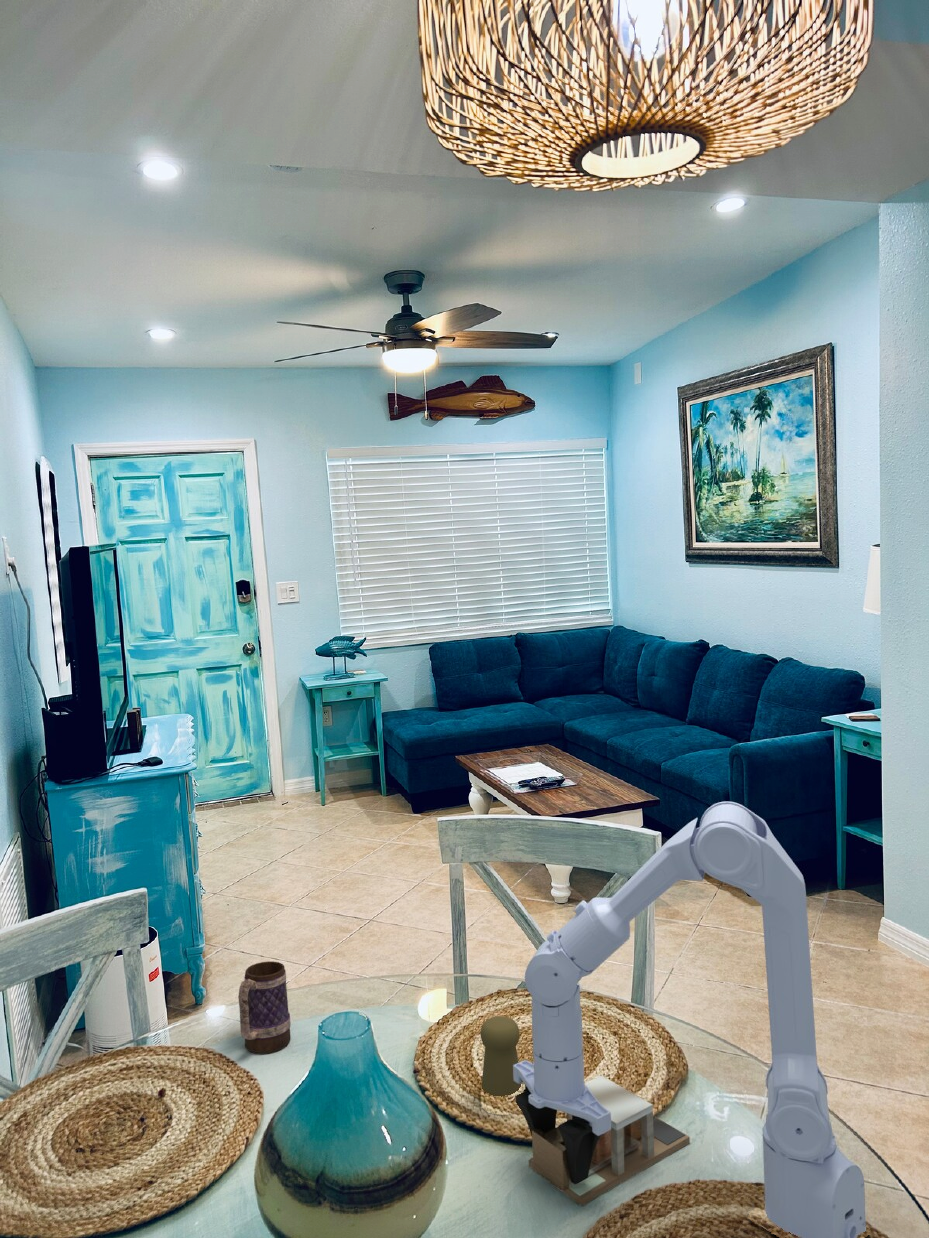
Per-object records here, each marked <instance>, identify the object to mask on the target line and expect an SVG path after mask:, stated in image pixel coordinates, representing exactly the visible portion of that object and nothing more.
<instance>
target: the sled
mask: <svg viewBox="0 0 929 1238" xmlns="http://www.w3.org/2000/svg"><path fill="white" fill-rule="evenodd" d="M630 1092H631V1093H633V1094H635V1093H634V1092H632V1091H630ZM637 1096H638V1097H640V1098H642V1097H641V1096H639V1095H637ZM569 1116H570V1119H571V1120H572V1115H571V1114H569ZM639 1138H641V1118H639V1119H638V1120H636V1121H634V1122H632V1123H630V1124H628V1125H626V1126H624V1127H623V1143H624V1155H626V1154H628V1153H629V1152H631V1151H633V1150H635V1149H637V1148H638V1147H640V1142H639V1141H638V1140H637V1139H639ZM531 1139H532V1141H531V1142H532V1143H531V1144H532V1148H531V1149H532V1157H533V1168H534V1169H535V1170H537V1171H538V1172H539V1173H541V1174H542V1175H543V1176H545V1177H546V1178H547V1179H549V1180H550V1181H551V1182H553V1183H554V1184H555V1185H557V1186H558V1187H559V1188H561V1189H562V1190H563V1191H564V1190H566V1189H568V1188H569V1177H570V1176H569V1170H568V1159H567V1152H566V1148H565V1144H564V1141H563V1138H562V1136H561V1134H560V1132H559V1130H558V1126H557V1127H556V1128H554V1129H552V1130H550V1131H548V1132H546V1133H544V1132H543V1131H541V1130H540V1129H538V1128H535V1129H533V1130H532V1136H531ZM610 1163H612V1156H611V1130H609V1131H607V1132H605V1133H604V1134H601V1135H600V1137H599V1139H598V1142H597V1144H596V1147H595V1150H594V1153H593V1156H592V1160H591V1165H590V1169H589V1174H588V1175H590V1174H592V1173H594V1172H595V1171H597V1170H599V1169H601V1168H603V1167H604V1166H606V1165H608V1164H610Z"/></svg>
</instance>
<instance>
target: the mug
mask: <svg viewBox="0 0 929 1238" xmlns="http://www.w3.org/2000/svg"><path fill="white" fill-rule="evenodd" d="M287 988H288V987H287V972H286V969H285V965H284V963H282V962H279V961H270V960H269V961H260V962H258V963H255V964H252V965H250V966H248V967H247V968H246V969H245V972H244V979H243V981H241V983H240V985H239V989H238V990H239V991H238V1006H239V1022H240V1024H239V1025H240V1035H241V1038H242V1039H244V1047H245V1048H246V1050H248V1051H249V1052H251V1053H253V1054H259V1055H264V1054H265V1055H266V1054H271V1053H275V1052H279V1051H281V1050H283V1049H284V1048H286V1046H288V1044H290V1042H291V1040H292V1039H291V1037H292V1036H291V1023H292V1022H291V1014H290V1012H289V1001H288V990H287Z"/></svg>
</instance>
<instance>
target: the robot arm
mask: <svg viewBox="0 0 929 1238" xmlns="http://www.w3.org/2000/svg"><path fill="white" fill-rule="evenodd" d="M698 820H699V819H698V817H696V818H694V819H693V820H691V821H690V822H688V823H687V824H686V825H685V826H683V827H682V828H681V829H680V830H679V831H678V832H676V833H675V834H674V835H673V836H672V837H671V838H669V839H668V840H667V841H666V842H665V843H664V844H663V845H661V847H660V848H659V849H658V850H656V852H655V853H654V854H653V855H652V856H651V857H650V858H649V859H648V860H647V861H646V862H645V863H644V864H643V865H642V866H641V867H640V868H639V869H638V870H637V871H636V872H635V873H634V874H633V875H632V876H631V877H630V878H629V879H628V880H627V881H626V882H625V883H624V884H623V885H622V886H621V888H620V889H618V890H617V891H616V893H614V894H613V895H612V896H611V897H599V896H598V897H596V896H595V897H593V898H592V899H591V900H590V901H588V902H586V900H584V899H583V900H581V901H580V902H579V903H578V904H577V905H576V906H575V908H574V910H573V912H574V913H575V915H574V916H572V918H570V920H568V921H567V922H566V923H565V924H564V925H563V926H562V927H561V928H560V929H559V930H558V931H557V930H555V929H553V930H552V931H551V932H549V933H548V935H547V936H546V940H545V941H543V943H542V944H540V945H539V947H538V949H537V950H536V951H535V952H534V955H533V956H532V957H531V959H530V961H529V963H528V964H527V966H526V969H525V974H524V982H525V986H526V987H525V988H526V989H527V991H528V992H529V995H530V996H531V1024H532V1025H531V1028H532V1029H531V1032H532V1055H533V1056H532V1058H533V1063H532V1062H530V1061H528V1060H527V1059H525V1060H522V1061H519V1063H517V1064H515V1065H513V1077H514V1081H515V1082H516V1083H518V1084H521V1083H522V1084H523V1083H524V1088H523V1093H521V1094H519V1095H517V1096H516V1103H517V1105H518V1106H519V1108H520V1109H521V1110H520V1111H521V1113H522V1115H523V1117H524V1119H525V1122H526V1124H527V1126H528V1130H529V1133H530V1135H531V1137H532V1130H533V1129H535V1128H538V1129H540V1130H541V1131H543V1132H544V1133H546V1132H548V1131H550V1130H552V1129H554V1128H556V1123H557V1113H558V1111H559V1112H562V1113H565V1114H567V1113H568V1114H571V1115H572V1120H571V1119H570V1120H568V1121H567V1120H566V1121H564V1122H562V1123H560V1124H558V1125H557V1127H558V1130H559V1132H560V1134H561V1136H562V1138H563V1141H564V1144H565V1148H566V1152H567V1159H568V1170H569V1176H570V1180H571V1182H572V1183H574V1184H578V1183H580V1182H581V1181H583V1180H585V1179H587V1178H588V1174H589V1169H590V1165H591V1160H592V1156H593V1153H594V1150H595V1147H596V1144H597V1142H598V1139H599V1137H600V1135H601V1134H604V1133H605V1132H607V1131H609V1130H611V1112H610V1111H608V1110H607V1109H605V1108H604V1107H603V1106H602V1105H601V1104H600V1103H599V1101H598V1100H597V1099H596V1098H595V1096H594V1095H593V1094H592V1092H591V1091H590V1090H589V1089H588V1087H587V1086H586V1085H585V1084H584V1083H585V1071H584V1070H585V1069H584V1068H585V1067H584V1066H585V1065H584V1043H583V1041H584V1040H583V1037H584V1036H583V1014H582V1013H583V1011H582V1006H581V987H580V985H579V984H578V983H579V982H580V981H581V980H582V978H585V977H587V976H590V975H591V974H592V973H594V972H595V971H596V970H597V969H598V968H599V967H600V966H601V965H602V964H603V963H605V962H606V961H607V960H608V959H609V958H610V957H611V956H612V955H613V954H614V953H615V952H616V951H618V950H619V949H620V948H621V947H622V946H623V945H625V943H626V942H627V941H628V940H629V939H630V937H631V925H630V923H631V921H632V920H633V919H635V918H636V917H637V916H638V915H639V914H640V913H641V912H643V911H644V910H645V909H646V908H647V907H649V906H650V905H651V904H652V903H654V901H656V900H657V899H658V898H659V897H661V896H662V895H663V894H664V893H665V892H667V890H669V889H670V888H671V887H673V886H674V885H675V884H676V883H677V882H679V881H691V882H692V881H693V882H702V881H704V877H705V874H707V875H708V876H710V877H712V878H713V879H716V880H718V881H720V882H722V883H725V884H728V885H731V886H733V887H736V888H738V889H741V890H742V891H743V892H745V893H746V894H747V895H749V896H750V897H752V899H754V900H755V901H756V902H758V903H759V905H761V911H762V925H763V939H764V943H763V944H764V954H765V955H764V957H765V971H766V972H765V973H766V984H767V985H766V986H767V1000H768V1015H769V1016H768V1017H769V1030H770V1033H769V1034H770V1044H771V1045H770V1047H771V1063H770V1066H769V1068H768V1070H767V1072H766V1079H765V1082H766V1084H765V1085H766V1089H767V1113H766V1116H765V1123H764V1124H763V1126H762V1147H763V1148H762V1151H763V1152H762V1153H763V1154H762V1156H763V1157H762V1158H763V1180H764V1181H763V1183H764V1187H763V1188H764V1202H765V1211H766V1214H767V1217H768V1218H769V1219H770V1221H772V1222H773V1223H774V1225H777V1226H778V1227H779V1228H782V1229H783V1230H785V1231H786V1232H790V1233H791V1234H794V1235H796V1236H798V1237H802V1238H857V1236H858V1235H860V1234H861V1233H863V1232H865V1231H866V1227H867V1225H866V1224H867V1223H866V1198H865V1197H866V1195H865V1194H866V1193H865V1179H864V1174H863V1171H862V1169H861V1168H860V1166H858V1165H857V1164H855V1162H853V1161H851V1159H849V1158H848V1157H847V1156H846V1155H845V1154H844V1153H843V1152H842V1151H841V1150H840V1148H839V1147H838V1145H837V1142H836V1141H837V1140H836V1136H835V1134H834V1132H833V1128H832V1123H831V1121H830V1110H829V1102H828V1093H829V1091H828V1084H827V1080H826V1078H825V1075H824V1074H823V1072H822V1070H821V1069H820V1067H819V1064H818V1058H817V1057H818V1055H817V1043H816V1042H817V1041H816V1027H815V1014H814V1013H815V1010H814V993H813V983H812V981H813V980H812V967H811V966H812V964H811V951H810V936H809V934H810V933H809V921H808V907H807V892H806V891H807V890H806V883H805V879H804V875H803V874H802V872H801V871H800V869H799V868H798V866H797V865H796V864H795V862H793V859H792V858H791V857H790V856H789V855H788V853H787V852H786V850H785V849H784V848H783V847H782V845H781V843H780V842H779V841H778V840H777V838H776V837H775V836H774V834H773V833H772V831H771V829H770V827H769V826H768V824H767V822H766V821H765V819H763V818H762V817H760V816H759V815H757V814H755V812H753V811H752V810H750V809H749V808H747V807H745V806H744V805H743V804H740V803H737V802H734V801H721V802H719V801H718V802H717V803H716V802H715V803H713V804H712V805H711V806H710V807H708V808H707V809H706V810H705V811H704V813H703V814H702V816H701V818H700V821H699V827H697V822H698Z"/></svg>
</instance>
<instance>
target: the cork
mask: <svg viewBox="0 0 929 1238" xmlns="http://www.w3.org/2000/svg"><path fill="white" fill-rule="evenodd" d="M520 1032H521V1030H520V1029H519V1025H518V1023H517V1022H516V1021H515V1020H514V1019H513V1018H510V1017H507V1016H503V1015H499V1016H493V1017H489V1018H488V1019H486V1020H485V1021H483V1023H482V1025H481V1028H480V1039H481V1043H482V1045H483V1046H484V1055H483V1056H484V1057H483V1065H482V1066H483V1067H482V1077H481V1086H482V1089H483V1090H484V1091H485V1092H487V1093H489V1094H490V1095H493V1096H501V1097H502V1096H505V1095H511V1094H513V1093H515V1092H516V1091H518V1090H519V1088H520V1087H521V1084H518V1083H516V1082H515V1081H514V1077H513V1065H515V1064H517V1063H520V1061H519V1058H518V1057H519V1056H518V1052H517V1051H518V1050H517V1045H518V1044H519V1040H520V1035H521V1034H520Z"/></svg>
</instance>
